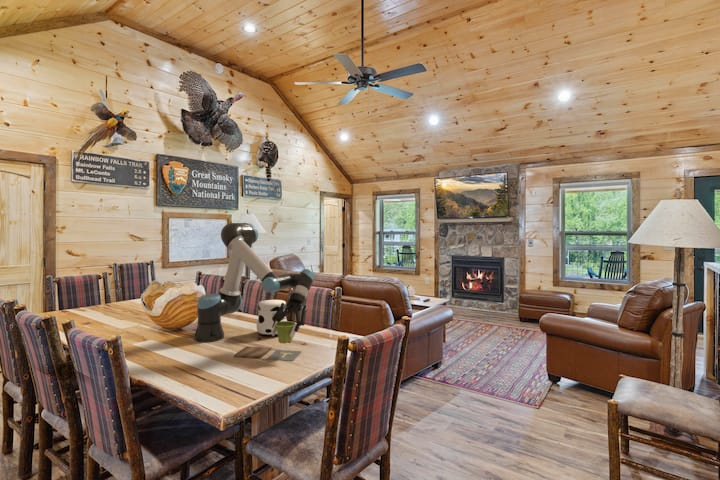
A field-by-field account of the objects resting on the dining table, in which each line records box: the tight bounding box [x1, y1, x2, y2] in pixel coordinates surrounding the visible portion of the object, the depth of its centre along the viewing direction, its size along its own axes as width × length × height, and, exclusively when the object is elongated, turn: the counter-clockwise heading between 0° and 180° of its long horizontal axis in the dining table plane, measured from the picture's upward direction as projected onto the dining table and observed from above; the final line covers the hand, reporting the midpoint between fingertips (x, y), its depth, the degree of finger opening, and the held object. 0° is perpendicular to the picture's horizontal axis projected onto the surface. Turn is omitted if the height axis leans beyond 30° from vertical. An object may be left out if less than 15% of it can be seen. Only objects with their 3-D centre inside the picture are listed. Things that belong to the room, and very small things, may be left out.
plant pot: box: [275, 320, 296, 344], centre depth 181 cm, size 9×9×9 cm
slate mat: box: [266, 349, 303, 362], centre depth 181 cm, size 13×13×1 cm
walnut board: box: [233, 345, 272, 360], centre depth 184 cm, size 13×13×1 cm
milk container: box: [256, 299, 288, 337], centre depth 218 cm, size 17×17×18 cm
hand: (281, 335), depth 178 cm, fingers closed on plant pot, 9 cm apart
